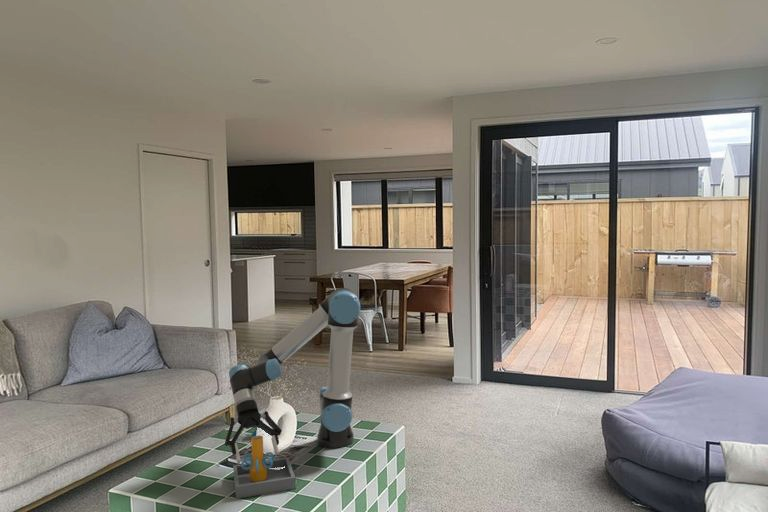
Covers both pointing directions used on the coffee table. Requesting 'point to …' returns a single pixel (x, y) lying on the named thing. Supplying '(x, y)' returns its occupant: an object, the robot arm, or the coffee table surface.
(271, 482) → the tray
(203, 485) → the coffee table surface
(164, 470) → the coffee table surface
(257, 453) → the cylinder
